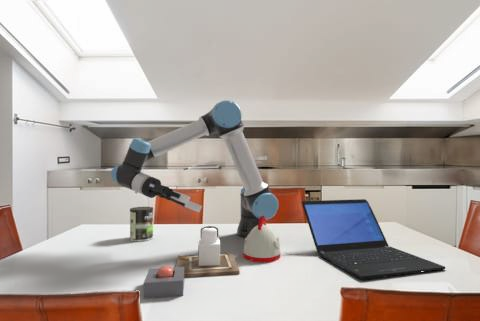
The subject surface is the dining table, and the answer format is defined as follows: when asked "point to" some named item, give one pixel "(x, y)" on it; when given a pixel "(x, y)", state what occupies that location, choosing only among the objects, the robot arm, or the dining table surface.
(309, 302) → the dining table surface
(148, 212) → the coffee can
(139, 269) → the dining table surface
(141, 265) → the dining table surface
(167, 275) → the button
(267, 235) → the kitchen timer
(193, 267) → the picture board
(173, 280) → the block
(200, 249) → the medicine bottle
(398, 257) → the laptop
